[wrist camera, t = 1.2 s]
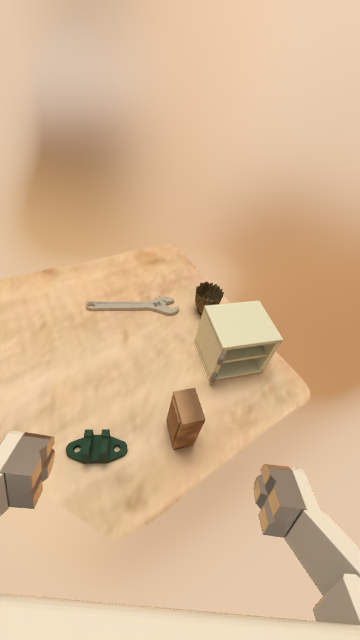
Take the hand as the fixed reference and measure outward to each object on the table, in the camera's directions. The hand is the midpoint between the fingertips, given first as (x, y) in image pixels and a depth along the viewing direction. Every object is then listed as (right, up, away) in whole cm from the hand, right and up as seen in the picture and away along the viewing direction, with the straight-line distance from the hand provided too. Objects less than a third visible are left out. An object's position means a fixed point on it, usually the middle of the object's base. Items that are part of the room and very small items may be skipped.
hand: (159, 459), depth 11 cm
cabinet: (+13, -4, +61) cm, 63 cm away
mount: (-15, -19, +42) cm, 49 cm away
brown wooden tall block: (+1, -17, +47) cm, 50 cm away
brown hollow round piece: (+8, +8, +71) cm, 72 cm away
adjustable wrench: (-12, +9, +69) cm, 71 cm away
